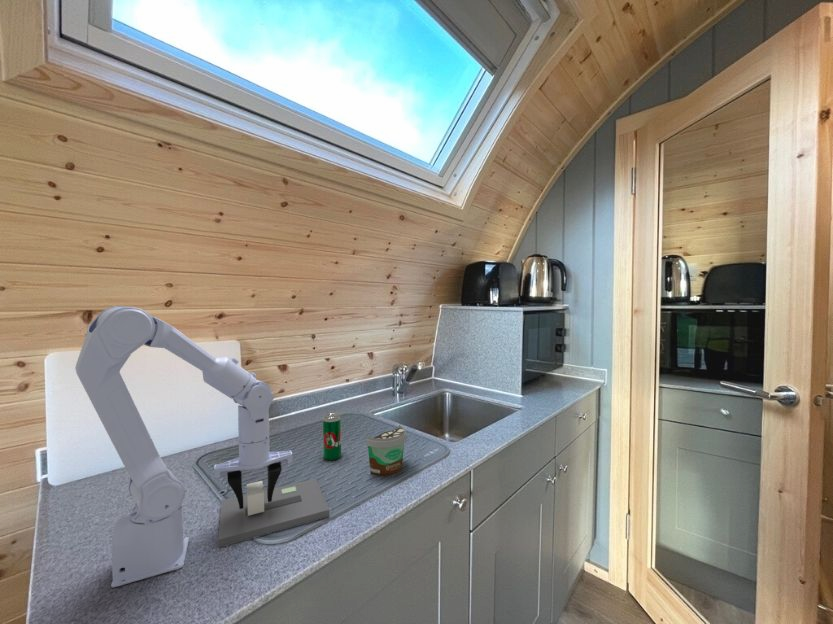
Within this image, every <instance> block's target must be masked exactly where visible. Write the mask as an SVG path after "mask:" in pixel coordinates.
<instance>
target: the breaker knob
mask: <svg viewBox="0 0 833 624" xmlns="http://www.w3.org/2000/svg"><path fill="white" fill-rule="evenodd" d="M263 483H264V482H263V480H260V481H259V480H258V481H256V482H250V483H247V484H246V495H247V508H248V516H249V515H253V514H257V513H261V512H264V484H263Z"/></svg>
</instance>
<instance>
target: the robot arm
mask: <svg viewBox="0 0 833 624" xmlns="http://www.w3.org/2000/svg"><path fill="white" fill-rule="evenodd" d="M143 346H147V347H150V348H159V349H160V348H161V349H165V350H166V351H168V352H169V353H172V354H173V355H174V356H177V357H179V358H180V359H182V360H184V361H185V362H186V363H188V364H190V365H192V366H193V367H195V368H196V369H199V370H200V371H201V372H202V377H203V379H202V381H203V382H204V383H206V384H207V385H209V386H211V387H212V388H213V389H215V390H216V391H219V392H220V393H222V394H223V395H225V397H226V396H227V397H228V398H230V400H231V399H232V400H233V402H234V403H235V404H238V405H237V411H238V413H237V421H238V423H237V424H238V425H237V426H238V457H237V458H234V459H231V460H228V461H225V462H224V461H223V462H220V463H216V464H214V465H213V478H214V479H217V478H221V477H222V476H225V475H227V484H228V485H229V486H230V488H231V489H232V491H233V493H234V494H235V497H237V500H238V503H239V509H242V508H243V495H244V494H243V486H242V485H243V481H242V474H243V473H242V472H246V471H250V470H251V471H252V470H257V469H262V468H265V467H267V468H266V469H267V489H266V490H267V498H268V502H271V501H272V495H273V491H274V488H276V484H277V482H278V480H279V478H280V476H281V474H282V464H291V463H292V464H293V452H292V450H285V451H270V416H269V415H270V413H269V411H270V410H269V409H270V406H271V404H272V403H273V400H274V398H275V397H274V396H275V393H274V392H273V390H272V388H271V386H270V385H269V384H268V383H266V382H264V381H262V380H259V379H257V378H256V377H257V374H256V373H254V372H252V371H251V372H249V371H247V370H246V369H245V368H243V367H242V366H241V365H239V364H238V363H239V360H238V359H236V358H235V357H230V358H229V357H228V356H219V357H215V356H213V355H212V354H211V353H209V352H208V351H207V350H205V349H204V348H203V347H202V346H200V345H199V344H197V343H196V342H195V341H193V340H192V339H191V338H189V337H188V336H187V335H185V334H184V333H182V332H181V331H180V330H178V329H177V328H176V327H175V326H172V325H171V324H169V323H167V322H166V321H164V320H162V319H160V318H158V317H156V316H151V314H149V312H147V311H146V310H144V309H142V308H140V307H137V306H136V307H135V306H124V305H116V306H115V305H114V306H111V307H107V308H106V309H103V310H102V311H101V312H100V313H99V314H98V315H97V316H96V317H95V318H94V319H93V320H92V322H90V324H89V325H88V326H87V328H86V333H85V338H84V340H83V343H82V346H81V349H80V352H79V356H78V357H77V361H76V364H75V369H74V370H75V373H76V375H77V377H78V378H79V380H80V383H81V385H82V387H83V389H84V390H85V392H86V394H87V396H88V398H89V400H90V402H91V404H92V407H93V408H94V410H95V411H96V414H97V416H98V418H99V420H100V422H101V424H102V425H103V427H104V430H105V431H106V434H107V435H108V437H109V439H110V441H111V442H112V445H113V447H114V449H115V451H116V453H117V454H118V457H119V459H120V460H121V463H122V464H123V466H124V469H125V471H126V472H127V475H128V479H129V480H128V487H127V491H128V492H129V495H130V496H131V497H132V498H133V500H134V502H135V503H134V504H133V507H132V509H131V511H130V513H129V514H127V515H125V516H120V517H119V518H117V519H116V521H115V523H114V525H113V529H112V534H111V535H112V536H111V543H110V544H111V546H110V547H111V548H110V550H111V571H112V582H111V584H110V585H111V588H117V587H121V586H123V585H127V584H131V583H133V582H137V581H141V580H143V579H144V580H145V579H148V578H151V577H155V576H158V575H162V574H165V573H168V572H173V571H175V570H179V569H182V568H183V567H184V564H185V560H186V557H187V551H188V546H189V541H190V540H189V539H190V538H189V537H187V536H186V537H184V517H183V516H184V515H183V513H184V512H183V511H184V510H183V502H184V500H185V498H186V487H185V485H184V484H183V483H182V482H181V481H180V480H178V479H177V477H176V476H175V475H174V474H173V472H172V471H171V468H170V467H169V466H168V465H166V464H165V463H164V461H163V459H162V457H161V455H160V454H159V452H158V449H157V447H156V445H155V443H154V441H153V439H152V437H151V435H150V433H149V431H148V429H147V427H146V424H145V422H144V420H143V418H142V416H141V414H140V412H139V410H138V408H137V405H136V404H135V402H134V400H133V397H132V396H131V393H130V390H128V388H127V385H126V383H125V381H124V379H123V376H122V374H121V372H120V371H121V369H122V368H123V367H124V365H125V364H126V362H127V361H128V359H129V358H130V357H131V354H133V353H134V352H136V351H137V350H138V349H140V348H141V347H143Z"/></svg>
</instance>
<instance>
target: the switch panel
mask: <svg viewBox="0 0 833 624" xmlns="http://www.w3.org/2000/svg"><path fill="white" fill-rule="evenodd" d="M263 490H264V489H263ZM220 504H221V505H220V512H219V513H220V515H219V527H218V538H217V539H218V540H217V544H218V545H217V546H218V548H222V547H226V546H229V545H234V544H237V543H240V542H245V541H247V540H251V539H254V537H255V538H258V537H257V536H259V537H262V536H265V535H264V534H266V535H269V534H268V533H270V534H272V532H273V533H276V531H277V532H280V531H283V529H284V530H287V529H290V527H291V528H294V527H293V526H295V527H297V525H298V526H301V524H302V525H305V524H309V523H312V522H315V521H319V519H320V520H322V519H326V518H330V509H329V505H328V504H327V501H326V499H325V497H324V495H323V492H322V490H321V487H320V485H319V482H318V481H317V478H313V479H309V480H304V481H300V482H296V483H291V484H287V485H282V486H279V487H274V491H273V495H272V501H271V502H268V498H267V489H265V490H264V512H261V513H257V514H253V515H249V516H248V508H247V494H243V508H242V509H239V503H238V500H237V497H236V496H235V497H230V498H226V499H222V500H221V502H220ZM308 522H309V523H308ZM279 530H280V531H279ZM261 535H262V536H261Z"/></svg>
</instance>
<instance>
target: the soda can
mask: <svg viewBox="0 0 833 624" xmlns="http://www.w3.org/2000/svg"><path fill="white" fill-rule="evenodd" d="M341 456H342V418H341V416H340V413H337V412H330V413H326V414H324V415H323V418H322V457H323V459H324V460H326V461H335V460H339V459H340V457H341Z"/></svg>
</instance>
